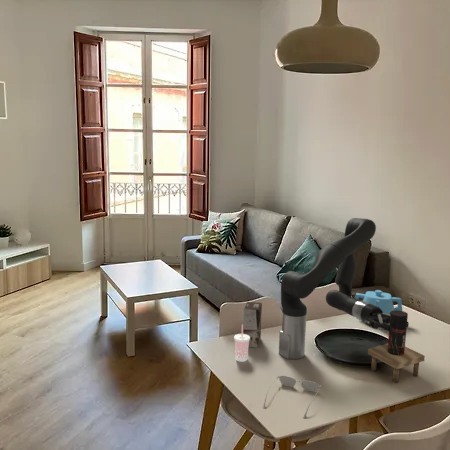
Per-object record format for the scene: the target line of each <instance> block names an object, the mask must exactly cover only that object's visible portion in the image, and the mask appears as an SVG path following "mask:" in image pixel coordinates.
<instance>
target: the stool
mask: <svg viewBox="0 0 450 450" xmlns="http://www.w3.org/2000/svg"><path fill="white" fill-rule="evenodd" d="M387 349H388V343H384V344H382V345H377V346H374V347H369V348H368V349H367V355H369V356H371V366H370V367H371V369H370V370H371V371H374V372H376V371H377V366H378V365H377V363H378V360H379V361H380V362H383V363H385V364H386V365H388V366H390V367H391V368H393V373H392V383H395V384H397V383H399V375H400V369H402V368H406V367H408V366H411V365H413V370H412V376H414V377H418V376H419V369H420V368H419V367H420V363H421V362H425V355H424V354H423V353H420V352H417V351H416V350H414V349H411V348H409V347H407V346H405V352H404V355H400V356H397V355H392V354H390V353H388V351H387Z"/></svg>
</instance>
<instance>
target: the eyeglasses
mask: <svg viewBox="0 0 450 450" xmlns="http://www.w3.org/2000/svg"><path fill="white" fill-rule="evenodd" d="M278 379H279V381H280V382H279V383H281V385H282V386H286V387H290V388H294V387H295V386H296V384H297V383H298V382H299V383H301V384H300V385H301V388H302V389H303V391H307V392H312V393H316V394H315V395H314V397H313V398H312V399H311V401H310V403H309V404H308V405H307V407H306V411H305V413H304V414H303V416H302V419H303V420H304V419H306V417H307V413H308V411H309V408H310V406H311V404H312V402H313V401H314V400H315V398H316V395H317V394H318V392H319V390H320V388H322V385H321V384H319V383H317V382H315V381H310V380H302V381H301V380H296V378H294V377H292V376H287V375H277V376H276V378H275V380H278ZM274 382H275V381H273V382H272V383H271V385H270V386H269V388H267V391H266V395H265V398H264V402H263V406H262V409H263V410H264V409H266V402H267V401H266V400H267V396H268V393H269V390H270V388H271V386H272V385H273V384H274Z"/></svg>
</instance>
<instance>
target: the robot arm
mask: <svg viewBox="0 0 450 450" xmlns="http://www.w3.org/2000/svg"><path fill="white" fill-rule="evenodd" d="M376 229H377V226H376V223H375V222H374V221H373V220H372V219H368V218H360V217H354V218H351V219H349V220H348V221H347V223H346V225H345V231H344V236H343V237H341V238H340V237H339V238H337V239H335V240H333V241H330V242H329V243H327V244H326V245H325V246H323V248H322V249H320V250H319V252H318V253H317V255H316V256H315V257H316V258H315V263H314V266H313V268H312V269H311V270H309V271H308V272H306V273H305V274H303V273H301V272H297V271H294V270H288V271H286V272H285V273H284V275H283V276H282V278H281V282H280V283H281V284H280V304H281V308H282V318H281V319H282V320H281V321H282V322H281V330H280V331H279V336H278V338H279V339H278V340H279V341H278V345H279V346H278V354H279V355H281V356H282V357H284V358H285V359H287V360H298V359H299V360H300V359H302V358H304V356H305V350H306V349H305V348H306V347H305V346H306V332H307V331H306V328H307V327H306V326H307V310H308V309H307V306H306V304H305V303H304V302H303V301H302V299H306V298H307V297H309V296H310V295H311V294H312V293H313V291H314V290H316V288H317V287H318V286H319V285H320V284H321V283H322V282H323V280H325V278H327V276H329V275H330V273H332V272H334V270H335V269H336V268H337V267H338V270H337V272H336V277H335V280H334V283H335V284H336V285H337V286H338V289H331V290H329V291H328V292H327V293H326V296H325V301H326V303H327V305H328V306H329V307H332V308H334V309H337V310H339V311H341V312H342V311H343V312H344V313H346V314H347V315H349V316H352V317H353V318H356V319H357V320H358V321H361V322H363V323H365V325H366V326H368V327H370V328H372V329H373V330H379V329H380V330H384V331H386V332H388V333H389V332H391V331H392V326H391V325H390V314H387V313H383V312H382V310H381V308H379V307H377V306H375V305H372V304H370V303H367V302H364V301H362V300H361V299H356V298H355V297H352V295H353V293H352V292H353V291H352V289H353V287H352V286H353V283H354V282H353V281H354V278H355V275H356V271H357V264H356V259H355V251H356V250H358V249H359V248H361V247H362V246H363V245H365V244H367V242H369V241H370V240H371V239H373V237H374V236H375V234H376ZM390 313H391V312H390ZM409 324H410V323H409V321H407V328H409Z"/></svg>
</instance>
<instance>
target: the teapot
mask: <svg viewBox="0 0 450 450" xmlns="http://www.w3.org/2000/svg"><path fill="white" fill-rule="evenodd" d="M354 298H356V299H359V298H361V299H362V300H361V301H364V302H367V303H370V304H372V305H375V306H377V307H379V308H381V310H382V312H383V313H387V314H390V312H391V311H394V310H399V311H403V304H402V303H403V302H402V298H401V297H394V296H393V297H392V295H391V293H389V292H383V291H382V290H380V289H376V290H375V291H372V290H371V291H366V292H365V293H360V292H356V293H355V296H354ZM359 300H360V299H359ZM394 302H397V306H394Z"/></svg>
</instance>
